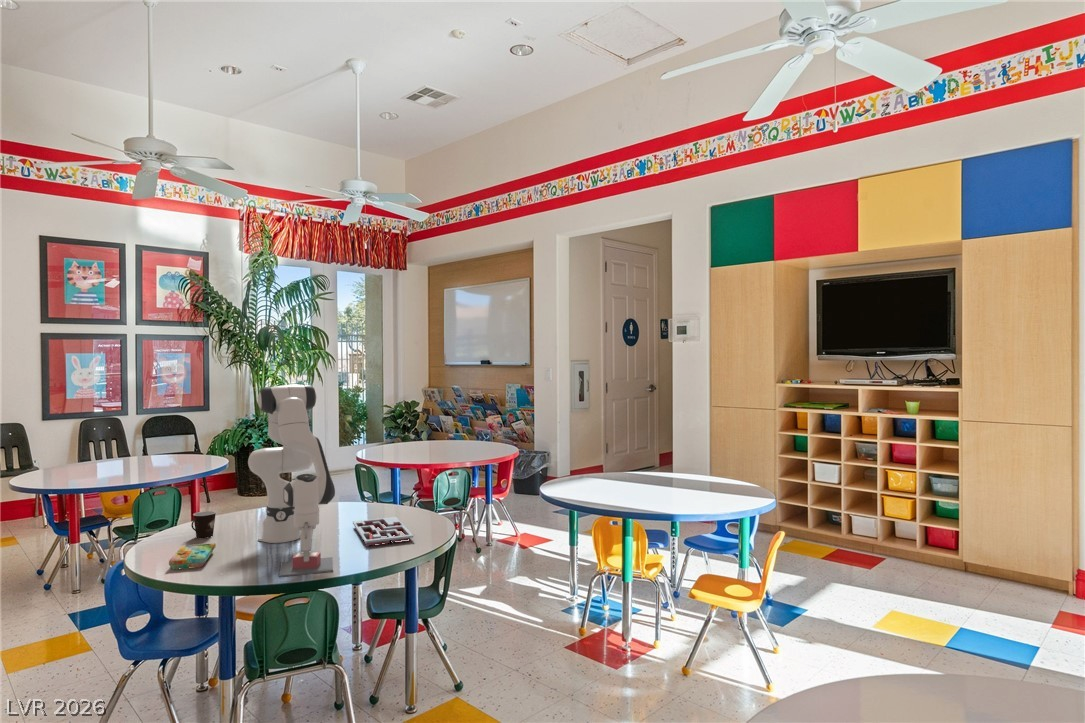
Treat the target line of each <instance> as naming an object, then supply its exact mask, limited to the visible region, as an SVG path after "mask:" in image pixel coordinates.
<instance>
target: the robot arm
mask: <svg viewBox="0 0 1085 723" xmlns="http://www.w3.org/2000/svg"><path fill="white" fill-rule="evenodd" d="M317 399H318V398H317V392H316V389H315V388H314V386H312V385H310V384H284V385H275V386H266V387H263V388H261V389H260V390H259V392H258V395H257V400H256V401H257V405H258V408H259V410H260V411H262V412H263V413H265V414H268V420H267V421H268V429H267V435H268V437H269V439H271V440H272V441H273V442H275V443H278V444H280V445H282V446H277V447H264V448H263V447H262V448H260V449H256V450H253V451H252V452H250V454H249V457H248V460H247V465H248V468H249V470H250V471H251V472H252V473H253V474H254V475H256V476H258V477H259V478H260V479H261V481H262V482H263V483H264V485H265V488H266V494H267V495H266V497H267V505H266V517H265V518H264V519H263V520H262V532H261V533H262V534H261V535H260V536H258V538H257V541H258V542H265V543H271V544H272V543H273V544H279V543H287V542H292V541H295V540H298V539H300V553H303V555H304V562H307V561H309V553H311V552H312V548H313V547H312V546H313V536H314V535H313V534H314V530H315V529H317V528H316V526H318V525H319V524H320V506H319V505H328V504H329V503H330V502H332V500H333V499H334V497H335V494H336V488H335V484H334V482H333V480H332V477H331V473H330V471H329V466H328V463H327V460H326V455H325V453H324V449H323V447H322V444H321V441H320V439H319V438H318V437H316V436H315V435H314V434H313V432H312V431H311V428H310V421H309V415H308V410H312V409H314V407H315V406H316V402H317ZM312 465H313V467H314V470H315V474H316V475H315V474H312V473H311V474H310V473H303V474H299V475H297V476H295V479H294V480H293V481H288V480H285V479H284V478H282V477H281V476H280V474H284V473H286V474H287V473H298V472H301V471H305V470H309V469H310V468H311V467H312Z"/></svg>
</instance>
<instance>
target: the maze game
mask: <svg viewBox="0 0 1085 723" xmlns="http://www.w3.org/2000/svg"><path fill="white" fill-rule="evenodd" d="M352 524H353V526H354V528H355V531H356V530H357V531H356V532H357V534H359V536H360V537H361V539H362V541H363V540H364V541H363V543H364V542H365V543H366V544H365V543H364V544H365V545H367V546H368V547H370V546H369V545H375V544H382V543H389V544H390V542H391V541H392V542H395V541H401V540H408V539H409V540H410V539H412V538H414V535H413V533H412V532H411V531H410V530H409V529H408V527H406V526H405V525H404V524H403V522H402V521H400V519H399V518H398V517H397V516H391V517H382V518H373V519H363V520H355V521H352ZM382 524H384V525H385V526H386V527H384V526H383V525H382ZM377 527H379V528H380V529H381V530H382V531H378V530H377V529H376V528H377ZM398 531H402V532H403V533H404V534H405V535H402V536H400V533H399V532H398ZM369 533H370V534H369ZM371 534H372V535H371ZM393 535H395V536H394V537H392V536H393ZM381 536H387V537H386V538H381ZM390 540H391V541H390ZM392 542H391V543H392ZM367 546H366V547H367Z"/></svg>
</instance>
